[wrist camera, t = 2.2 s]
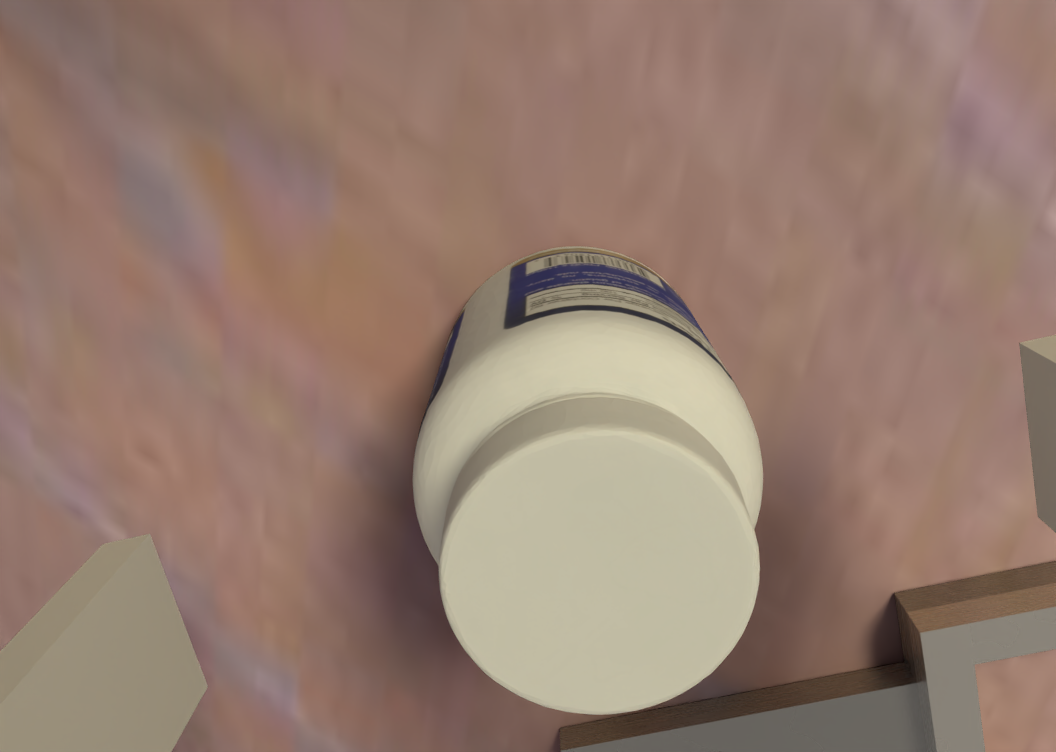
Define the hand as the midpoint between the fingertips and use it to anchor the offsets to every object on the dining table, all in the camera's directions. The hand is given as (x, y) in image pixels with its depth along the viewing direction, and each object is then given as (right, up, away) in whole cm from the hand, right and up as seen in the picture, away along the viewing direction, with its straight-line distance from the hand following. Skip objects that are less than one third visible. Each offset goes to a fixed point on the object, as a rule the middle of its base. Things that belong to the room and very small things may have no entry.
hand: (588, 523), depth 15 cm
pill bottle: (0, +2, +6) cm, 6 cm away
